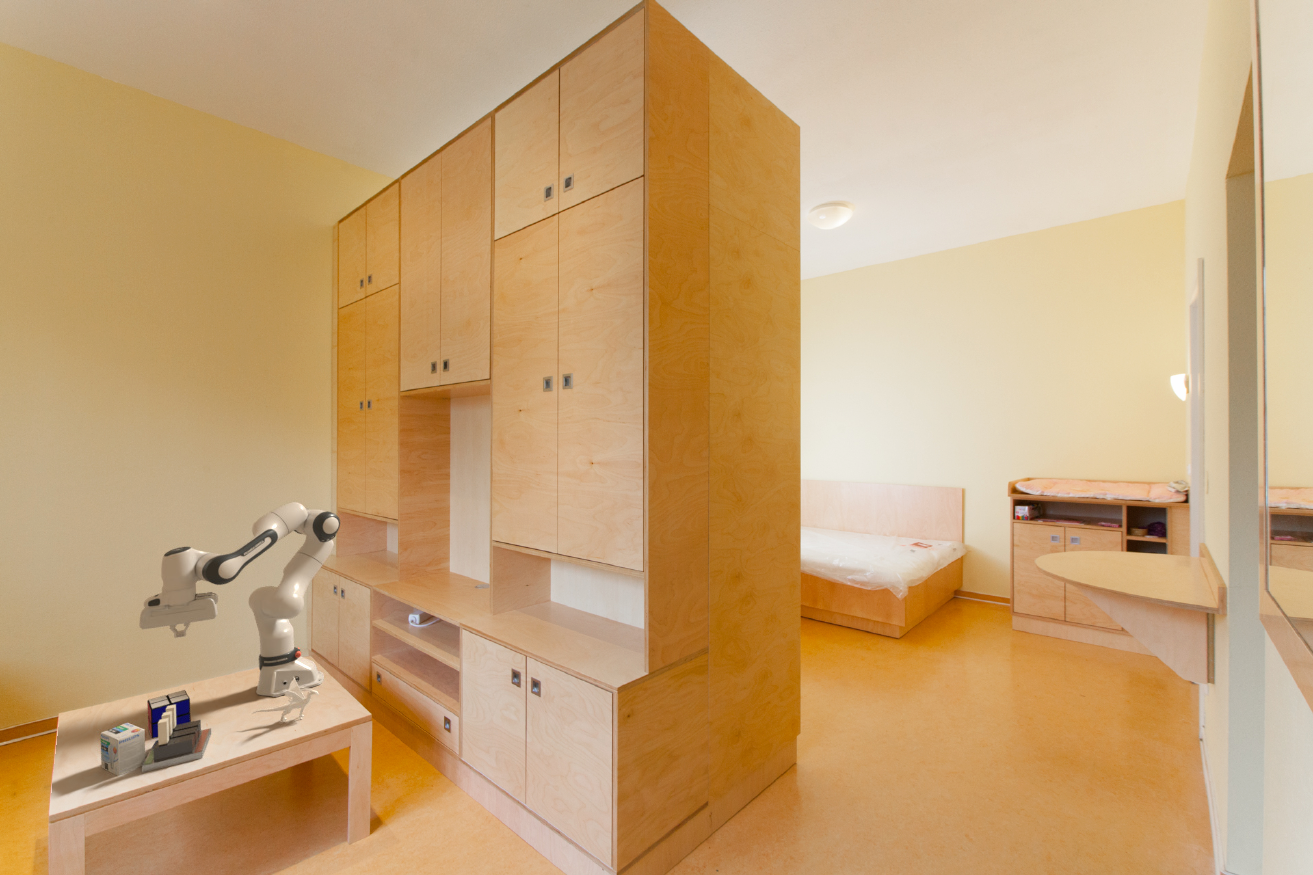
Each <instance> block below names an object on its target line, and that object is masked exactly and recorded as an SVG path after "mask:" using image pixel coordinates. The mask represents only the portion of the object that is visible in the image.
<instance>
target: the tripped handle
mask: <svg viewBox="0 0 1313 875" xmlns="http://www.w3.org/2000/svg"><path fill="white" fill-rule="evenodd" d="M166 718H168V721H169V736H171V734H172V711H170V712H165V713H163V715H162V719H166Z"/></svg>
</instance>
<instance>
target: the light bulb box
mask: <svg viewBox="0 0 1313 875" xmlns="http://www.w3.org/2000/svg"><path fill="white" fill-rule="evenodd" d="M145 733H146V732H145V728H142V727H139V726H137V725H134V724H131V723H129V722H124V723H123V724H121V725H118V726H115V727H112V728H110V729H107V730H104V731H101V732H100V734H99V735H100V767H101V768H102V769H104V770H106V772H110V773H111V774H114V775H115V776H117V777H120V776H122V775H124V774H127V773H129V772H131V771H133V770H136V769H138V768H141V767H142V765H143V763H144V762H145V760H146V744H145V743H146V742H145V741H146V739H145V735H146V734H145Z"/></svg>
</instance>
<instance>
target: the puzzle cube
mask: <svg viewBox="0 0 1313 875" xmlns="http://www.w3.org/2000/svg"><path fill="white" fill-rule="evenodd" d="M175 704H176V725H178V724H183V723H188V722H192V721H191V720H192V719H191V699H190V696H189V695H188V693H187V691H186V690H185V689H182V690H179V691H175V692H171V693H168V694H164V695H161V696H158V697H153V698H150V699H148V700H147V728H148V732H149V735H150V737H151V739H156V738H158V722H159V720H161V719H162V715H163V713H165V712H166V708H167V706H170V705H175Z"/></svg>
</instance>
